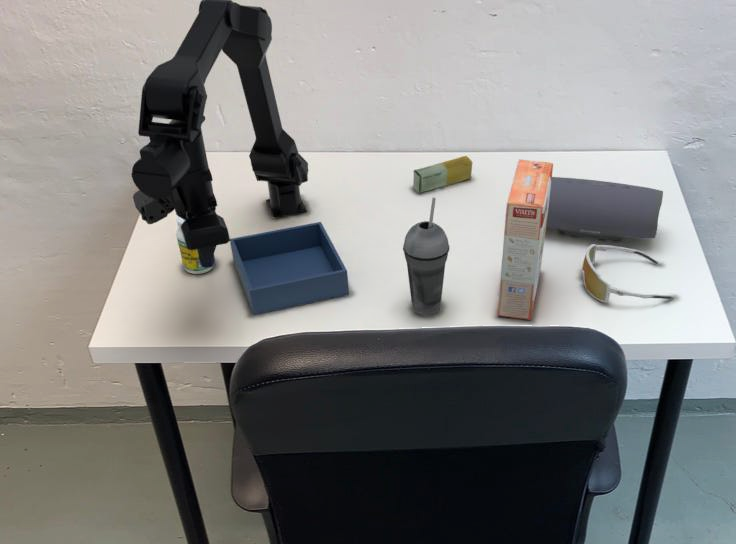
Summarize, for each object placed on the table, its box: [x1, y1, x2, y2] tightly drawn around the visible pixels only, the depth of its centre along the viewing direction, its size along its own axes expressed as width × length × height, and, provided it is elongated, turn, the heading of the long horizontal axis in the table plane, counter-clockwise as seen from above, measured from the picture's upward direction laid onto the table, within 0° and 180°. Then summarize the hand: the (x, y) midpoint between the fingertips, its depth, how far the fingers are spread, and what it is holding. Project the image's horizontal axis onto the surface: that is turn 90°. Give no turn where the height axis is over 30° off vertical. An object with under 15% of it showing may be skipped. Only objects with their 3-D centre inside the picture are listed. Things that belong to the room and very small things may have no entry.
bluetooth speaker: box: [546, 176, 664, 241], centre depth 159 cm, size 23×9×10 cm, turn 77°
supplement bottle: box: [175, 216, 216, 275], centre depth 152 cm, size 5×5×10 cm
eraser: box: [197, 249, 216, 268], centre depth 137 cm, size 2×2×7 cm
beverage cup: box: [402, 197, 450, 317], centre depth 139 cm, size 7×7×20 cm
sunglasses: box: [581, 243, 675, 303], centre depth 150 cm, size 14×15×5 cm
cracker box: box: [497, 159, 554, 321], centre depth 142 cm, size 14×6×21 cm, turn 168°
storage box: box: [229, 221, 350, 316], centre depth 151 cm, size 16×16×5 cm
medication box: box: [412, 155, 473, 195], centre depth 174 cm, size 12×3×4 cm, turn 118°
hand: (206, 256), depth 139 cm, fingers closed on eraser, 2 cm apart
